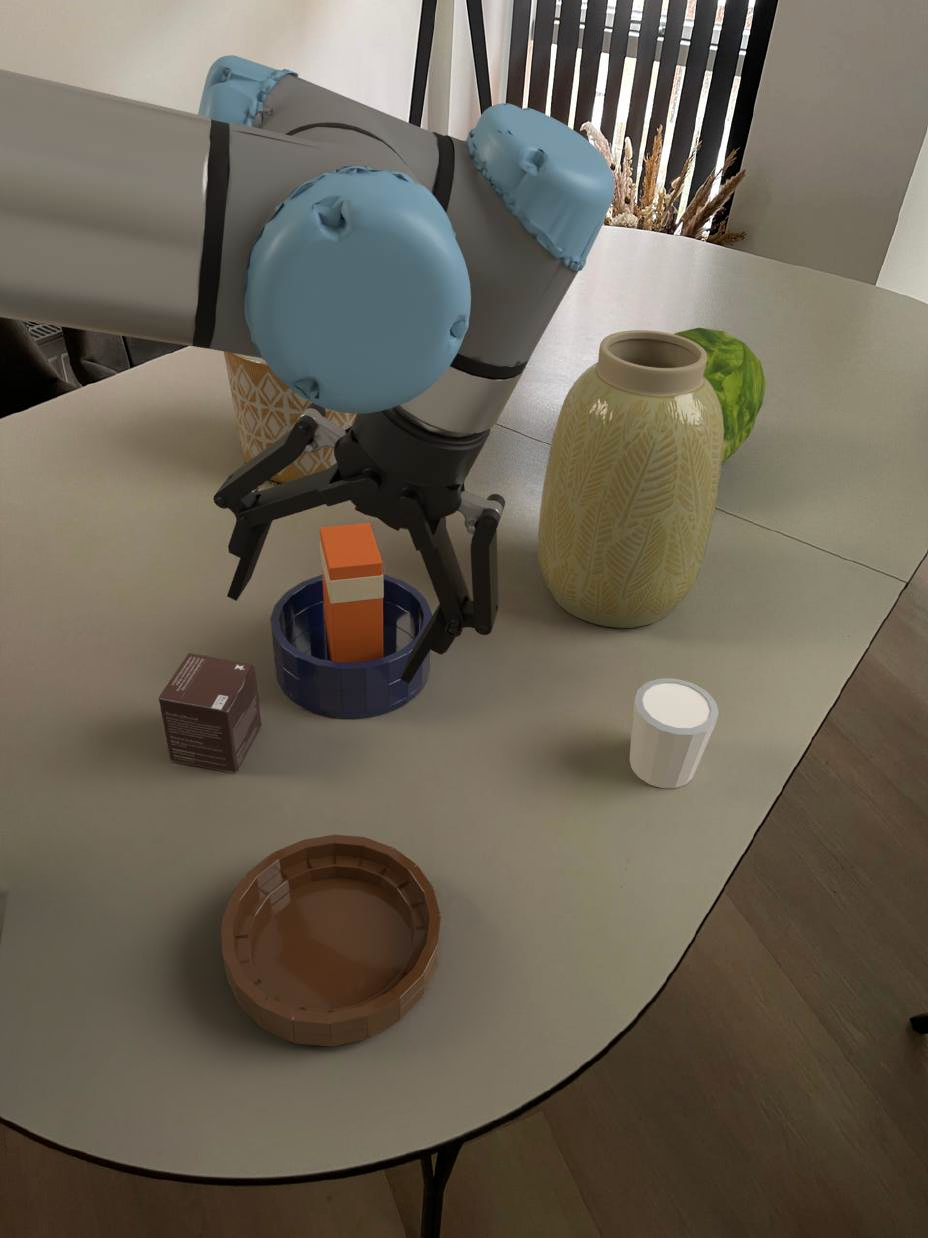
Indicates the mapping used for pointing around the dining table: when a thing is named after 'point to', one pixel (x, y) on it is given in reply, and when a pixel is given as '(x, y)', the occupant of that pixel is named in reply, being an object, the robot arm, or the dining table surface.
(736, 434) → the lettuce
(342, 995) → the bowl
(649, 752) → the white cylinder
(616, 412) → the vase
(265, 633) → the dining table surface
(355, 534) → the packet
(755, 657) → the dining table surface
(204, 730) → the box
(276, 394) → the planter
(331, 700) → the pot
